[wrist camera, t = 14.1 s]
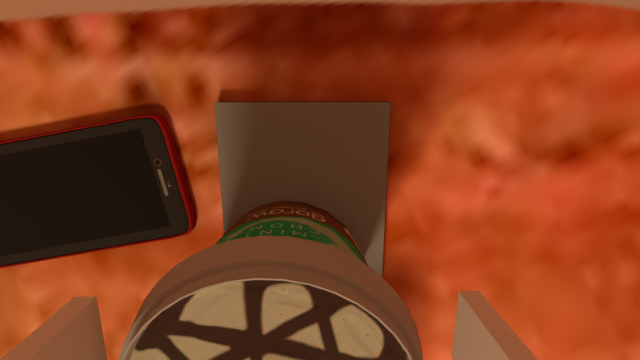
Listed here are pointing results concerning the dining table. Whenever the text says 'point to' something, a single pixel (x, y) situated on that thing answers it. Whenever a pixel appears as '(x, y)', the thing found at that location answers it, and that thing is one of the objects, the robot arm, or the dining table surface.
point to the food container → (275, 297)
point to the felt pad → (308, 162)
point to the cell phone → (91, 190)
